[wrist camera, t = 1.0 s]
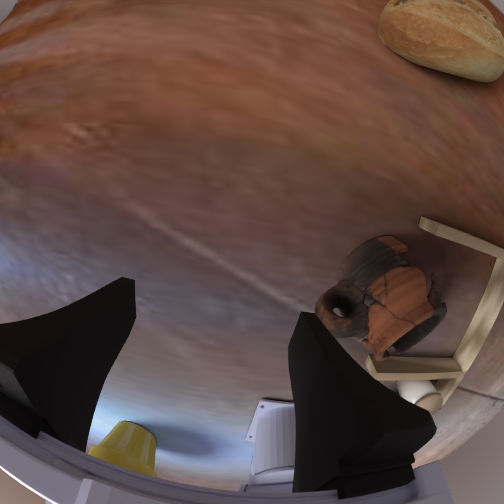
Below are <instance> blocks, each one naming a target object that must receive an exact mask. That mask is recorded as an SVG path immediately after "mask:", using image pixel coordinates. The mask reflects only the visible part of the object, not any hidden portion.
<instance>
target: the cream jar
mask: <svg viewBox="0 0 504 504" xmlns="http://www.w3.org/2000/svg"><path fill="white" fill-rule="evenodd" d="M396 388H397V390H398V392H399V394H400V396H401V397H402V398H404V399H406V400H407V401H409V402H411V403H413V404H415V405H417V406H420V407H422V408H424V409H426V410H428V411H429V412H430V414H431V416H432V415H433V414H434V413H435V412H436V411H437V410H438V409H439V408H440V407H441V405H442V403H443V398H442V396H441V394H440V393H437V391H436V390H435V388H434V386H433V385H432V383H431V381H430V380H397V382H396Z"/></svg>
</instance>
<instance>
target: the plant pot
mask: <svg viewBox="0 0 504 504" xmlns="http://www.w3.org/2000/svg"><path fill="white" fill-rule="evenodd" d="M155 452H156V439H155V437H154V436H153V435H152V434H151V433H150V432H149V431H148V430H146V429H145V428H143V427H141V426H139V425H137V424H134V423H131V422H127V421H121V422H119V423H118V424H117V425H116V426H115V427H114V428H113V429H112V430H111V432H110V433H109V434H108V435H107V436H106V437H105V438H104V439H103V441H102V442H101V443H100V444H99V445H95V446H93V447H92V448H91V450H90V451H89V453H88V454H89V455H91V456H94V457H96V458H98V459H101V460H104V461H106V462H109V463H111V464H114V465H117V466H120V467H123V468H126V469H129V470H132V471H135V472H138V473H142V474H145V475H149V476H153V477H156V478H157V474H156V472H155Z"/></svg>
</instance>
